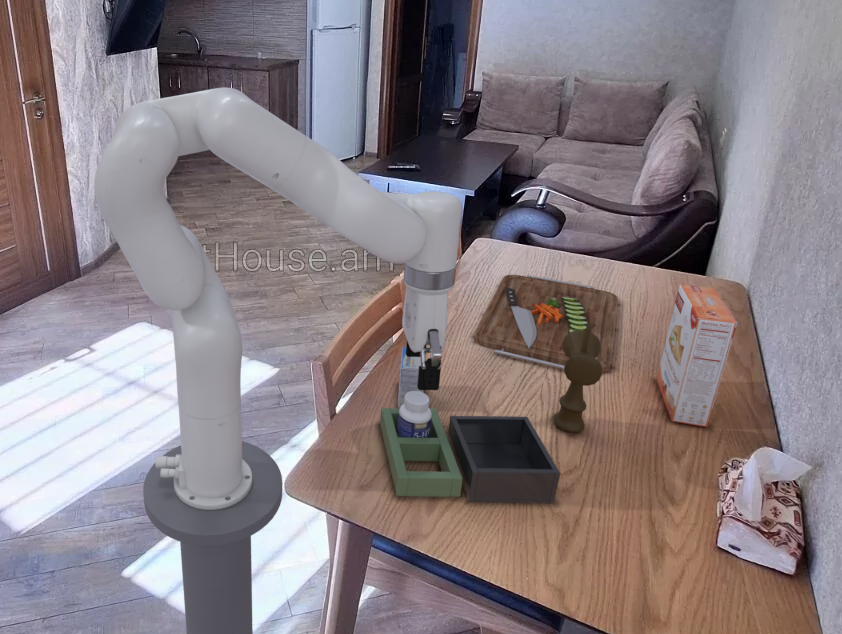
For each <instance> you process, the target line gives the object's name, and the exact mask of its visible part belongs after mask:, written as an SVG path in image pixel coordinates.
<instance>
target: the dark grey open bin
mask: <svg viewBox="0 0 842 634" xmlns="http://www.w3.org/2000/svg"><path fill="white" fill-rule="evenodd" d="M448 422H449V424H448V432H447V439H448V441H449V444H450V446H451V449H452V452H453V454H454V457H455V460H456V462H457V465H458V468H459V470H460V473H461V476H462V478H463V479H462V488H463V491H464V493H465V496H466V499H467V501H468V503H499V504H500V503H502V504H504V503H505V504H511V503H512V504H555V502H556V501H555V500H556V496H557V493H558V486H559V482H560V477H561V471H560V470H559V468H558V467H557V465H556V463H555V461H554V460H553V458H552V456H551V454H550V453H549V451H548V450H547V448H546V446H545V444H544V443H543V441H542V439H541V437H540V435H539V434H538V433H537V430H536V429H535V427H534V425H533V424H532V422H531V420H530V419H529V417H528V416H514V415H513V416H512V415H511V416H507V415H506V416H504V415H503V416H502V415H500V416H497V415H496V416H494V415H450V416H449V421H448Z"/></svg>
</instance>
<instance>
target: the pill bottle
mask: <svg viewBox="0 0 842 634" xmlns="http://www.w3.org/2000/svg"><path fill="white" fill-rule="evenodd" d="M430 409H431V408H430V398H429V395H428V394H426V393H425V392H424V393H422V392H419V391H410V392H408V393H406V394H405V397H404V404H402V405H401V407H400V409H399V416H398V427H397V430H396V433H397V437H405V438H430V435H429V433H430V425H431V416H432V413H431V410H430Z"/></svg>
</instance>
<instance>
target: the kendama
mask: <svg viewBox="0 0 842 634" xmlns="http://www.w3.org/2000/svg"><path fill="white" fill-rule="evenodd" d="M590 331H591V325H590V324H588V325H587V327H586V329H585V330H575V331H572V332H569V333H568V334H567V335H566V336H565V338H564V340H563V343H562V349H563V351H564V353H565V355H566V356H567V357H569V359H568V360H567V362H566V364H565V367H564V370H563V371H564V375H565V377H566V379H567V380H568V381H570V383H569V386H568V388H567V390H566V392H565V394H562V396H560V397H559V400H558V402H559V405H560V408H559V411H558V412H557V413H555V414H554V416H553V419H552V420H553V422H554V423H553V424H554V425H555V426H556V427H557V428H559V429H560V430H562V431H563V432H568V433H575V434H576V433H581V432H582V431H584V430H585V426H586V424H585V421H584V419H583V412H585V410H587V403H586V401H585V400H584V386H585V387H589V386H593V385H596V384H597V383H598V382H599V381H600V380H601V377H602V376H603V373H602V366H601V364H600V362H599V361H598V360H597V359H595V358H596V357H597V356H598V355H599V352H600V350H601V343H600V341H599V339H598V337H597V336H596V335H594V334H593V333H591V332H590Z"/></svg>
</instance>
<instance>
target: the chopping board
mask: <svg viewBox="0 0 842 634" xmlns="http://www.w3.org/2000/svg"><path fill="white" fill-rule="evenodd" d="M618 305H619V297H618V296H617V295H616V294H614V293H612V292H610V291H606V290H602V289H597V288H595V286H591V285H585V284H580V283H575V282H570V281H563V280H558V279H552V278H548V277H542V276H535V275H530V274H527V276H526V275H519V274H507V275H504V276H503V277H502V279H501V280H500V283H499V285H498V287H497V289H496V290H495V292H494V294H493V296H492V298H491V300H490V302H489V303H488V306H487V308H486V310H485V312H484V314H483V316H482V317H481V319H480V321H479V322H478V325H477V327H476V329H475V331H474V335H473V337H474V338H473V340H474V341H475V343H476V344H478V345H480V346H481V347H485V348H487V349H493V350H494V352H493V354H496V355H500V356H503V357H509V358H513V359H517V360H522V361H525V362H530V363H534V364H539V365H542V366H546V367H550V368H555V369H559V370H563V371H564V367H565V364H566V362H567V360H568V359H569V357H567V356H566V355H565V353H564V351H563V349H562V343H563V340H564V338H565V336H566V335H567V334H568V333H569V332H572V331H575V330H585V329H586V327H587V325H588V324H590V325H591V331H590V332H591V333H593V334H594V335H596V336H597V337H598V339H599V341H600V343H601V350H600V352H599V355H598V356H597V357H596V358H595V359H597V360H598V361H599V362H600V364H601V366H602V374H604V373H607V372H609V371H610V369H611V366H612V363H613V362H612V361H613V353H614V345H615V334H616V324H617V315H618V307H619V306H618Z"/></svg>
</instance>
